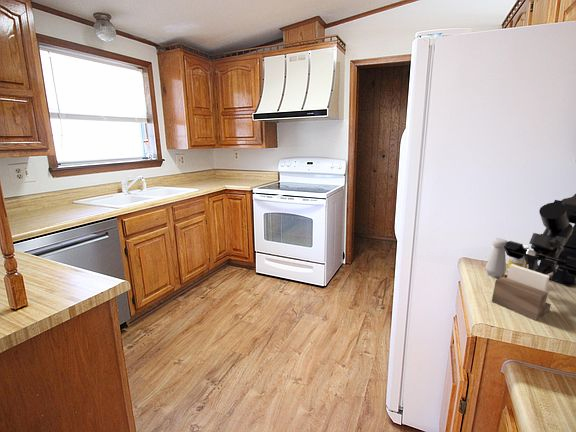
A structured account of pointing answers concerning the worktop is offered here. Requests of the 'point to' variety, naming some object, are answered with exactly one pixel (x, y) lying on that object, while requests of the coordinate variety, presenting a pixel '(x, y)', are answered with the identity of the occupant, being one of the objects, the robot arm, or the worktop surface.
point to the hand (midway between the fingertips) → (528, 282)
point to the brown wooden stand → (520, 298)
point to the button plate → (528, 277)
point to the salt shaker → (497, 259)
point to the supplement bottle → (518, 260)
